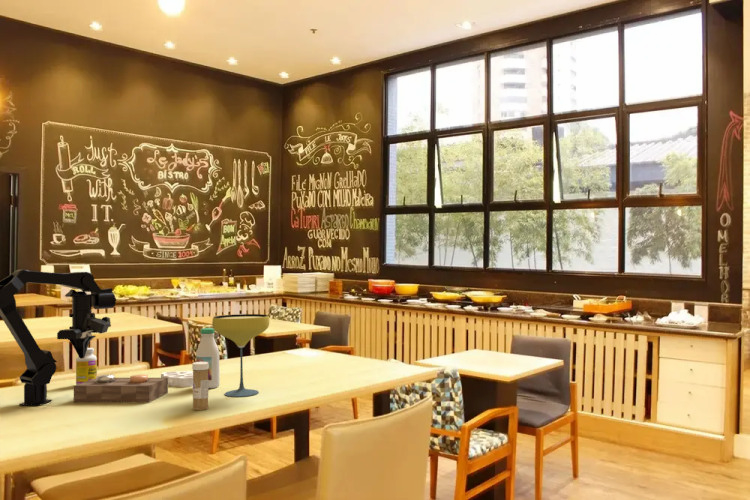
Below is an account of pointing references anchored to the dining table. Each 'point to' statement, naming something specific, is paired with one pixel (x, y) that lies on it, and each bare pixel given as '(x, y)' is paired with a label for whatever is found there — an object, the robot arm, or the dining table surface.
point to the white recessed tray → (179, 378)
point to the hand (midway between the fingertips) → (82, 358)
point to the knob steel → (105, 379)
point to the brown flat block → (120, 390)
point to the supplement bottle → (86, 367)
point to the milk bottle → (209, 356)
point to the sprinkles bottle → (200, 385)
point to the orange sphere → (138, 378)
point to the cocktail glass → (240, 338)
